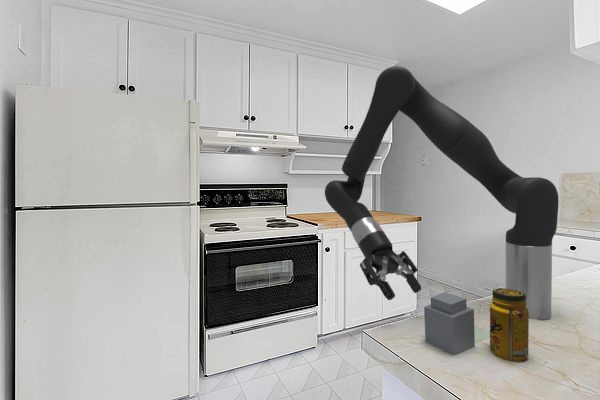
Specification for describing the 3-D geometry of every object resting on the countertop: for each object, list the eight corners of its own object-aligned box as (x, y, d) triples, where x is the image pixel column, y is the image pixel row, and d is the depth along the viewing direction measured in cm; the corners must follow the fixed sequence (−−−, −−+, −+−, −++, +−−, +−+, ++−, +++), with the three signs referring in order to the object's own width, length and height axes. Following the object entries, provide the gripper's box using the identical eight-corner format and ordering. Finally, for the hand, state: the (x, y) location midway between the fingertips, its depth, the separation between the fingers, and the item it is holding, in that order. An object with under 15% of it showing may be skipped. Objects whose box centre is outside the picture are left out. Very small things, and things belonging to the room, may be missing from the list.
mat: (455, 318, 76) (455, 317, 76) (497, 335, 67) (497, 334, 67) (425, 328, 71) (425, 326, 71) (466, 347, 62) (466, 346, 62)
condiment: (479, 347, 63) (479, 287, 62) (519, 344, 64) (519, 284, 63) (506, 368, 56) (507, 300, 55) (551, 364, 56) (552, 297, 56)
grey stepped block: (425, 342, 65) (423, 297, 64) (445, 333, 68) (444, 289, 67) (454, 356, 59) (452, 307, 59) (474, 346, 62) (473, 299, 62)
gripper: (355, 232, 77) (391, 292, 67) (398, 227, 84) (435, 281, 74) (342, 250, 82) (374, 309, 72) (383, 243, 89) (417, 296, 79)
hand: (405, 294), depth 73 cm, fingers open, 8 cm apart
